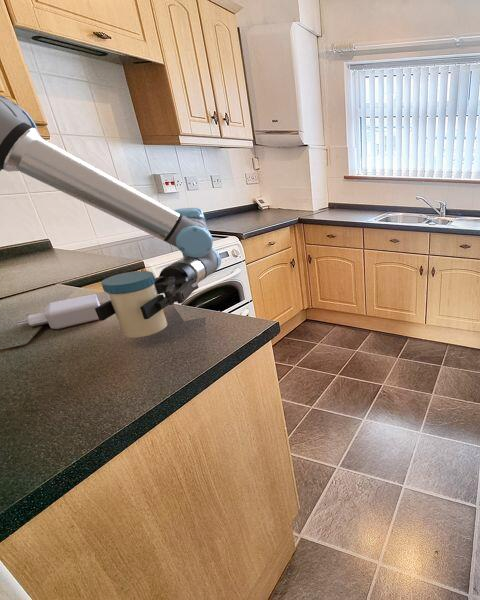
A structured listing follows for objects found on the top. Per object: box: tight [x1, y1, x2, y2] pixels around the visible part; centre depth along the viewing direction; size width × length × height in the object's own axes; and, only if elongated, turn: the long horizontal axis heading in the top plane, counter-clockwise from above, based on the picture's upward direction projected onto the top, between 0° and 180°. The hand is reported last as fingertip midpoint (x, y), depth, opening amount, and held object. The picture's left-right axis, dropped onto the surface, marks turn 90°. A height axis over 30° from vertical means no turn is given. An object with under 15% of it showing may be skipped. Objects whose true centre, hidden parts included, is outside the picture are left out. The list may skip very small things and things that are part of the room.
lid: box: [101, 270, 156, 294], centre depth 70 cm, size 9×9×2 cm
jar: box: [106, 284, 168, 339], centre depth 72 cm, size 8×8×12 cm
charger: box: [16, 293, 101, 330], centre depth 83 cm, size 5×9×15 cm
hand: (121, 313), depth 67 cm, fingers closed on jar, 8 cm apart
